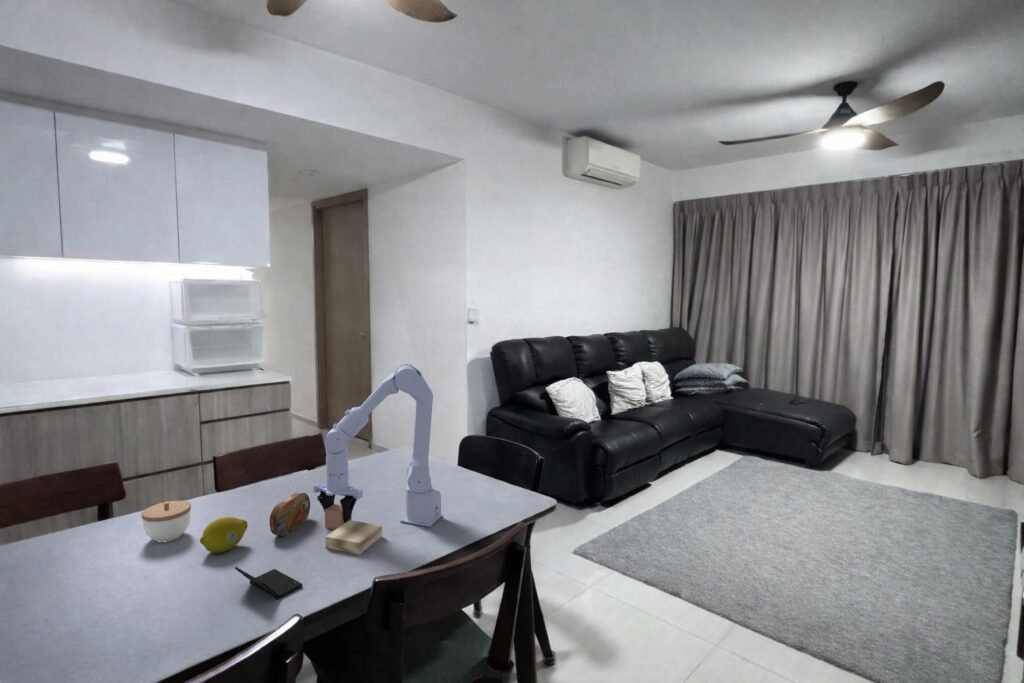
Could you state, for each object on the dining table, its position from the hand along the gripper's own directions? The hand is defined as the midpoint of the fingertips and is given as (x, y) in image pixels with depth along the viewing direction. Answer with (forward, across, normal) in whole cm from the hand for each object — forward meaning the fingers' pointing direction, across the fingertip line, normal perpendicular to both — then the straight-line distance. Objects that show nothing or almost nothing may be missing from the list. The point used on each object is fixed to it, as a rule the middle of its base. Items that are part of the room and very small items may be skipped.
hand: (338, 519), depth 146 cm
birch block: (+1, +10, -7) cm, 12 cm away
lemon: (+2, -18, -21) cm, 28 cm away
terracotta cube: (+1, 0, 0) cm, 1 cm away
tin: (+2, -11, -6) cm, 13 cm away
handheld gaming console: (+2, +5, -31) cm, 31 cm away
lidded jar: (+2, -37, -21) cm, 43 cm away
